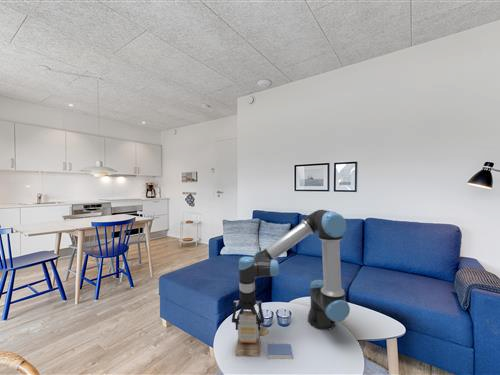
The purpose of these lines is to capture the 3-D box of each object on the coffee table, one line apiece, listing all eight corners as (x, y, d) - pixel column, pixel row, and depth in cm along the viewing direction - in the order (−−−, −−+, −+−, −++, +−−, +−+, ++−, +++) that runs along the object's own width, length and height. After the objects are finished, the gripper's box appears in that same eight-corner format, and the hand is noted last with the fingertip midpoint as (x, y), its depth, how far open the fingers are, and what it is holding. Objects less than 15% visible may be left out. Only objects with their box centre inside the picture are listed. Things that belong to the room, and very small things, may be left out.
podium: (260, 340, 118) (260, 334, 118) (259, 356, 107) (259, 350, 107) (238, 340, 119) (238, 334, 119) (235, 355, 108) (235, 349, 108)
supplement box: (257, 336, 115) (256, 310, 115) (256, 343, 110) (256, 316, 110) (240, 336, 116) (240, 309, 116) (239, 342, 111) (238, 315, 111)
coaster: (269, 327, 129) (268, 326, 129) (269, 337, 121) (269, 336, 121) (254, 327, 130) (254, 326, 130) (253, 336, 122) (253, 335, 122)
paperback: (267, 348, 113) (267, 343, 113) (290, 348, 112) (290, 344, 112) (268, 359, 106) (268, 354, 106) (292, 360, 105) (292, 354, 105)
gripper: (268, 286, 115) (270, 331, 116) (227, 286, 117) (228, 330, 117) (269, 293, 108) (270, 342, 108) (224, 293, 110) (225, 340, 110)
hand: (248, 336), depth 113 cm, fingers open, 8 cm apart
